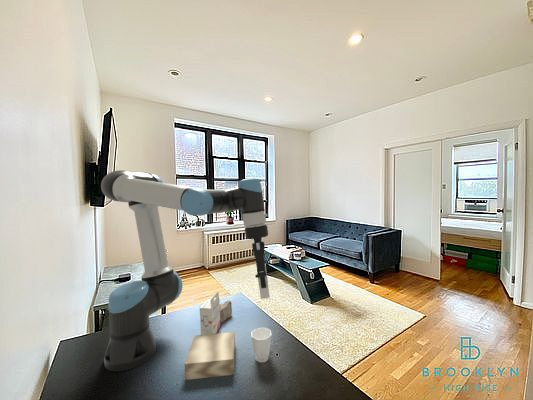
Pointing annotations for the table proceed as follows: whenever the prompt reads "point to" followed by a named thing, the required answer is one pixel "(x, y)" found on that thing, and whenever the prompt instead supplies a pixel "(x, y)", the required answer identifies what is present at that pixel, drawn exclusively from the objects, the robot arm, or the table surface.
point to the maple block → (211, 356)
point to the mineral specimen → (225, 311)
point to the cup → (261, 343)
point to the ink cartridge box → (210, 315)
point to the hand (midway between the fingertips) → (264, 289)
